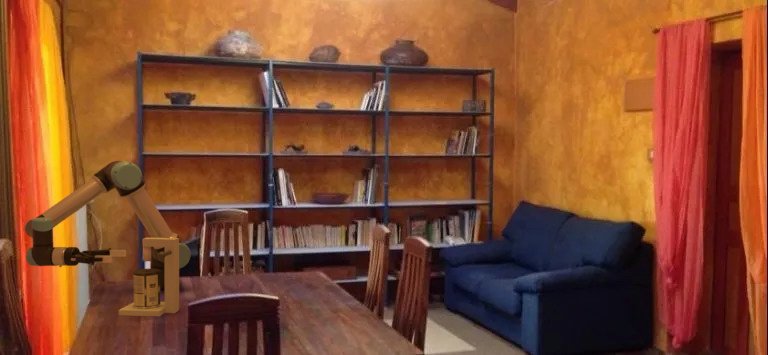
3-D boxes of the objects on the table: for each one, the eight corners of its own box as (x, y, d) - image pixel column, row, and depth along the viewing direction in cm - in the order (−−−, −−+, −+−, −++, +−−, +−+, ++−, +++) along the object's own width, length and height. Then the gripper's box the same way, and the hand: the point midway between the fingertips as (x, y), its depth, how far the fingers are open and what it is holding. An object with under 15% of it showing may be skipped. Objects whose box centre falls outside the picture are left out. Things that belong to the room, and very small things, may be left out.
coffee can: (144, 302, 283) (144, 267, 283) (165, 304, 280) (165, 269, 279) (127, 307, 274) (127, 271, 273) (149, 309, 270) (149, 273, 270)
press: (135, 305, 285) (135, 235, 284) (183, 307, 284) (183, 236, 283) (114, 317, 265) (113, 241, 264) (165, 319, 264) (165, 242, 263)
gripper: (82, 260, 295) (131, 259, 294) (51, 271, 270) (105, 271, 269) (81, 242, 294) (130, 242, 293) (50, 252, 269) (104, 252, 268)
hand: (118, 256), depth 281 cm, fingers open, 13 cm apart
